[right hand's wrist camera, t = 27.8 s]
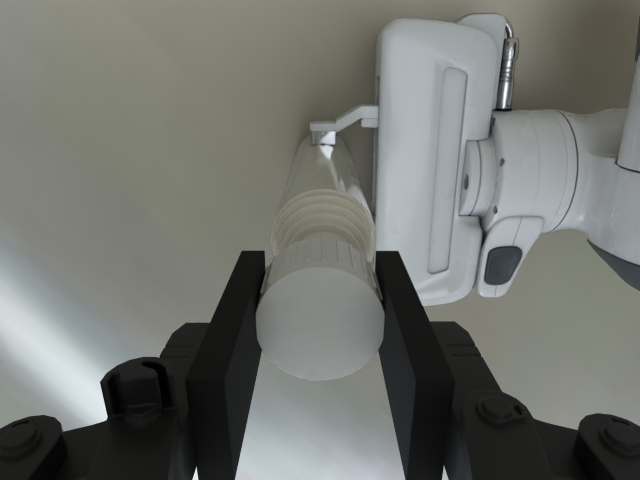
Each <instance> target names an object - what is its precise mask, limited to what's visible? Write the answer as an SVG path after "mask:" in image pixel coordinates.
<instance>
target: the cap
mask: <svg viewBox="0 0 640 480" xmlns="http://www.w3.org/2000/svg"><path fill="white" fill-rule="evenodd" d="M382 300H383V297H382V294H381V290H380V287H379V283H378V279H377V276H376V273H375V272H373V270H372V266H371V263H370V261H369V262H368V261H367V260H366V258H365V257H364V256H363V254H362V252H359V251H358V250H356V249H355V248H353V247H352V245H351V244H346V243H344V242H342V241H339V239H336V240H335V239H330V238H325V237H322V238H311V237H310V238H308V239H305V240H302V241H299V242H298V241H296V242H295V243H294V244H292V245H290V246H288V247H287V248H283V251H282V252H280V253H279V254H278V255H277V256H274V258H273V261H272V263H271V264H270V266H269V267H268V266H267V269H266V272H265V276H264V280H263V283H262V287H261V291H260V298H259V301H258V306H257V310H256V330H257V340H258V343H259V345H260V347H261V349H262V350H263V352H264V353H265V355H266V356H267V357H268V358H269V360H270V361H271V362H273V363H274V364H275V365H276V366H277V367H279V368H280V369H282V370H283V371H285V372H287V373H289V374H291V375H294V376H296V377H300V378H304V379H309V380H331V379H337V378H340V377H344V376H347V375H349V374H351V373H353V372H355V371H357V370H359V369H360V368H362V367H363V366H364V365H366V364H367V363H368V362H369V361H370V360H371V359H372V358H373V356H374V355H375V354H376V353H377V351H378V349H379V348H380V346H381V343H382V341H383V334H384V318H385V312H384V308H383V304H382Z"/></svg>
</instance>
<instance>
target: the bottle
mask: <svg viewBox="0 0 640 480" xmlns="http://www.w3.org/2000/svg"><path fill="white" fill-rule="evenodd" d="M310 237H311V238H322V237H325V238H330V239H335V240H336V239H339V241H342V242H344V243H346V244H351V245H352V247H353V248H355V249H356V250H358V251H359V252H362V254H363V256H364V257H365V258H366V260H367V261H368V262H369V261H370V263H371V261H372V258H373V255H374V252H375V247H376V229H375V225H374V222H373V219H372V216H371V213H370V210H369V207H368V204H367V202H366V199H365V196H364V193H363V190H362V187H361V184H360V181H359V178H358V176H357V173H356V170H355V167H354V164H353V161H352V158H351V155H350V153H349V150H348V147H347V145H346V143H345V142H344V141H343V140H342V139H341V138H340V137H339V136H338V135H336V134H335V145H325V144H324V143H322V144H320V145H310V135H308V136H307V137H306V138H304V139H303V141H302V142H301V143H300V145H299V147H298V149H297V152H296V155H295V158H294V162H293V165H292V168H291V171H290V174H289V177H288V180H287V183H286V186H285V189H284V192H283V195H282V198H281V201H280V204H279V207H278V210H277V213H276V216H275V219H274V222H273V225H272V230H271V247H272V251H273V255H274V256H277V255H278V254H279V253H280V252H282V251H283V248H287V247H288V246H290V245H292V244H294V243H295V242H296V241H298V242H299V241H302V240H305V239H308V238H310Z"/></svg>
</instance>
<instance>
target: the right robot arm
mask: <svg viewBox="0 0 640 480" xmlns="http://www.w3.org/2000/svg"><path fill="white" fill-rule="evenodd" d="M265 272H266V271H265V251H242V252H241V254H240V256H239V259H238V261H237V263H236V265H235V268H234V270H233V272H232V274H231V277H230V279H229V281H228V284H227V286H226V288H225V290H224V293H223V295H222V297H221V299H220V302H219V304H218V306H217V308H216V311H215V313H214V315H213V318H212V320H211V322H210V323H185V324H184V325H183V326H181V327H180V328H179V329H177V330H176V331H175V332H174V333H172V335H171V337H170V339H169V340H168V342H167V344H166V347H165V348H164V349H163V351H162V353H161V354H160V358H158V357H142V358H137V359H132V360H129V361H127V362H124V363H122V364H120V365H117V366H116V367H115V368H113V369H112V370H110V371H109V372H108V373H106V375H105V376H104V378H103V379H102V380H101V382H100V384H101V389H102V393H103V398H104V402H105V407H106V411H107V415H108V418H107V420H106V421H104V422H101V423H97V424H94V425H90V426H86V427H82V428H78V429H73V430H69V431H65V432H63V430H62V426H61V423H60V422H59V421H58V420H57V419H56V418H55V417H50V416H45V415H40V416H30V417H26V418H23V419H20V420H17V421H14V422H12V423H10V424H8V425H6V426H4V427H3V428H1V429H0V480H192V479H193V476H194V472H195V469H196V466H197V472H198V479H199V480H235V476H236V471H237V466H238V462H239V457H240V452H241V447H242V443H243V438H244V433H245V428H246V424H247V419H248V414H249V409H250V405H251V400H252V395H253V390H254V385H255V381H256V376H257V371H258V366H259V362H260V357H261V352H262V349H261V347H260V345H259V343H258V340H257V330H256V310H257V306H258V301H259V298H260V291H261V287H262V283H263V280H264V276H265ZM375 273H376V276H377V279H378V283H379V287H380V290H381V294H382V297H383V300H382V304H383V308H384V312H385V318H384V334H383V341H382V343H381V346H380V348H379V349H378V351H379V356H380V360H381V365H382V370H383V375H384V379H385V384H386V389H387V394H388V398H389V403H390V408H391V413H392V418H393V422H394V427H395V432H396V437H397V441H398V446H399V451H400V456H401V460H402V465H403V470H404V475H405V479H406V480H442V474H443V467H444V466H445V469H446V473H447V476H448V479H449V480H640V426H638V425H636V424H634V423H632V422H630V421H629V420H626V419H623V418H620V417H617V416H614V415H609V414H598V413H597V414H592V415H587V416H585V417H584V418H583V419H582V420H581V421H580V424H579V427H578V430H574V429H570V428H566V427H562V426H557V425H553V424H549V423H545V422H542V421H539V420H536V419H534V418H533V417H532V415H531V414H530V412H529V411H528V409H527V407H526V406H524V405H523V404H522V403H521V402H520V401H518V400H517V399H516V398H514V397H512V396H510V395H508V394H506V393H504V392H502V391H501V389H500V387H499V385H498V384H497V382H496V380H495V378H494V377H493V375H492V373H491V371H490V370H489V368H488V366H487V364H486V363H485V361H484V359H483V357H481V354H480V352H479V350H478V349H477V347H475V343H474V342H473V340H472V338H471V336H470V335H469V333H468V332H467V331H466V330H465V329H463V328H462V327H461V326H460V325H458V324H457V323H456V322H430V321H429V319H428V317H427V315H426V312H425V310H424V308H423V306H422V303H421V301H420V299H419V296H418V294H417V292H416V290H415V287H414V285H413V283H412V281H411V278H410V276H409V274H408V272H407V269H406V267H405V265H404V262H403V260H402V258H401V256H400V253H399V251H376V257H375Z"/></svg>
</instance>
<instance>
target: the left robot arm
mask: <svg viewBox="0 0 640 480" xmlns="http://www.w3.org/2000/svg"><path fill="white" fill-rule="evenodd" d="M505 30H506V32H507V39H504V35H505ZM518 53H519V39H518V38H514V32H513V28H512V25H511V24H510V22H509V21H508V20H507V19H506V18H505V17H504V16H502V15H500V14H497V13H471V14H467V15H465V16H463V17H461V18H460V19H458V20H457V21H456V22H455V23H452V22H446V21H438V20H428V19H412V18H399V19H394V20H392V21H390V22H389V23H388V24H386V25H385V26H384V27H383V29H382V30H381V31H380V32H379V33H378V35H377V40H376V73H375V104H358V105H357V106H355V107H353V108H352V109H350V110H349V111H347V112H345V113H344V114H342V115H340V116H339V117H337V118H336V119H335V121H312V122H310V123H309V124H310V145H320V144H322V143H324V144H325V145H335V134H336V133H337V132H339V131H340V130H342V129H344V128H346V127H347V126H349V125H351V124H352V123H354V122H356V121H357V120H359V124H360V125H361V126H362V127H374V144H373V179H372V214H371V216H372V219H373V222H374V225H375V229H376V247H375V252H374V255H373V258H372V261H371V266H372V270H373V272H375V257H376V251H399V253H400V256H401V258H402V260H403V262H404V265H405V267H406V269H407V272H408V274H409V276H410V278H411V281H412V283H413V285H414V287H415V290H416V292H417V294H418V296H419V299H420V301H421V303H422V306H429V305H438V304H446V303H451V302H454V301H457V300H459V299H461V298H463V297H464V296H466V295H467V294H468V293H469V292H470V291H471V289H472V288H474V289H475V290H476V291H477V292H478V293H479V294H480V295H482V296H484V297H499V296H502V295H504V294H505V293H506V292H507V290H508V289H509V287H510V285H511V283H512V281H513V279H514V277H515V276H516V274H517V272H518V270H519V268H520V266H521V264H522V262H523V260H524V259H525V257H526V255H527V254H528V252H529V250H530V249H531V247H532V245H533V244H534V242H535V241H536V239H537V238H538V236H539V235H540V233H549V232H553V231H557V230H562V229H578V230H581V231H584V232H585V233H586V234H587V235H588V239H587V241H588V242H589V244H590V245H591V246H592V248H593V249H594V250H595V251H596V252H597V254H598V255H599V256H600V257H601V258H602V259H603V260H604V261H605V262H606V263H607V264H608V265H609V266H610V267H611V268H612V269H613V270H614V271H615V272H616V273H617V274H618V275H619V276H620V277H621V278H622V279H623V280H624V281H625V282H626V283H628V284H629V285H631V286H632V287H634V288H636V289H637V290H639V291H640V17H639V27H638V36H637V46H636V55H635V60H636V63H637V65H636V70H635V75H634V80H633V85H632V90H631V95H630V100H629V105H628V108H611V109H606V110H601V111H598V112H595V113H591V114H586V115H580V114H574V113H570V112H567V111H563V110H558V109H538V110H512V109H511V105H512V97H513V89H514V71H515V68H514V67H515V63H516V60H517V58H518ZM495 108H496V109H495ZM492 109H494V110H492Z"/></svg>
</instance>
